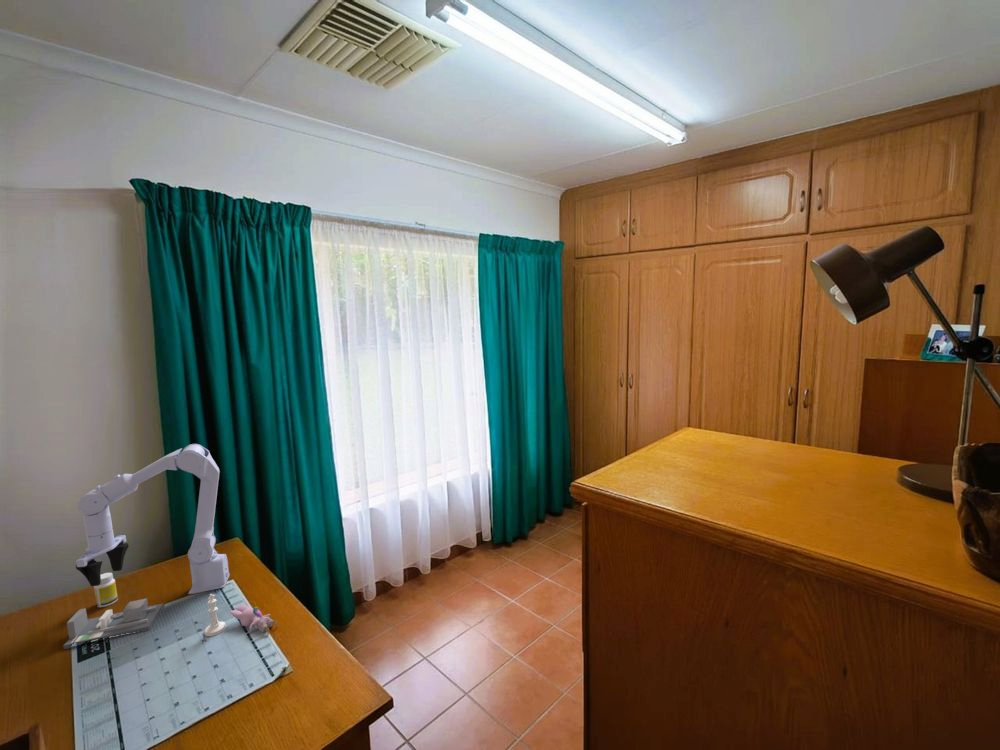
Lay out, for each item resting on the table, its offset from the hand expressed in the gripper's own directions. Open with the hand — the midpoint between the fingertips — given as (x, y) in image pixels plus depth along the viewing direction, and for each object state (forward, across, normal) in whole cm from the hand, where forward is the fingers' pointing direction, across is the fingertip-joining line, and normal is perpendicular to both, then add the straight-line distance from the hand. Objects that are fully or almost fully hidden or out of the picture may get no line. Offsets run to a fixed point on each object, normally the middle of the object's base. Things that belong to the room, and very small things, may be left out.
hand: (106, 577), depth 128 cm
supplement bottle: (+10, -4, -4) cm, 11 cm away
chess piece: (+10, +13, +36) cm, 40 cm away
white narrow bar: (+8, +10, +6) cm, 15 cm away
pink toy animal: (+10, +12, +46) cm, 48 cm away
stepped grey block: (+9, +7, +10) cm, 15 cm away
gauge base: (+10, +8, +8) cm, 15 cm away
